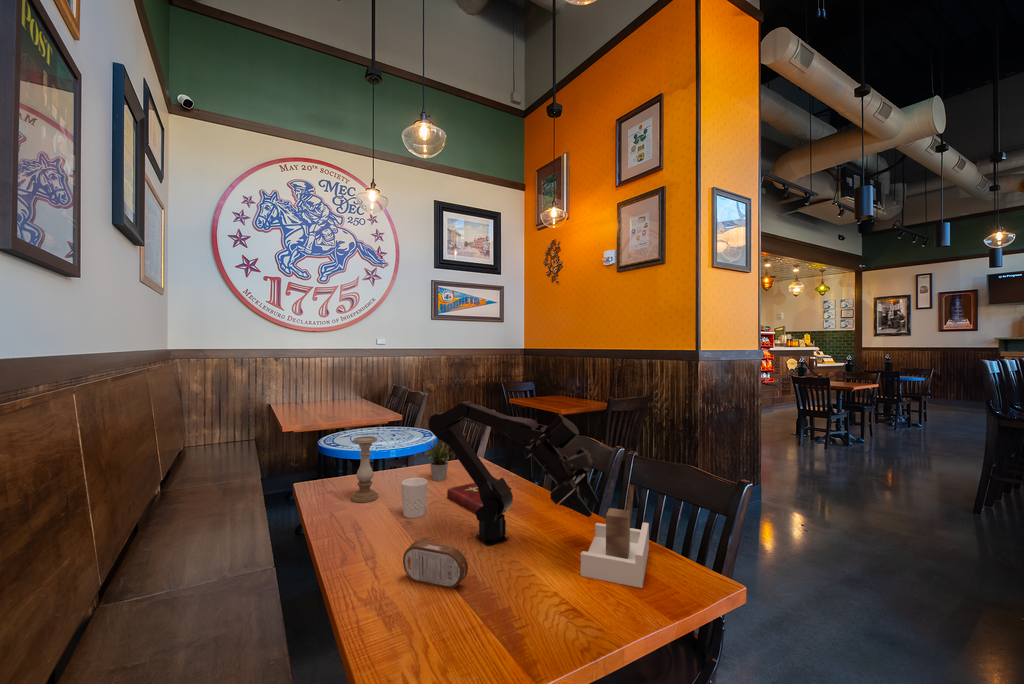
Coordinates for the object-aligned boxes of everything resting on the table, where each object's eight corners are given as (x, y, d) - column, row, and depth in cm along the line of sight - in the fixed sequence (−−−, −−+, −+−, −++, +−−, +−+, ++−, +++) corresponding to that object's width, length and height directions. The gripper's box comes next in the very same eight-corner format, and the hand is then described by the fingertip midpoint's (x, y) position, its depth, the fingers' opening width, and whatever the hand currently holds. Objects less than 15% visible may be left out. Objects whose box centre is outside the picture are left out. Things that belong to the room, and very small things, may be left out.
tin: (468, 586, 96) (468, 547, 96) (462, 593, 93) (462, 553, 93) (408, 573, 101) (408, 536, 101) (400, 580, 98) (400, 542, 98)
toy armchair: (580, 575, 100) (580, 545, 100) (595, 541, 118) (596, 515, 118) (642, 588, 95) (642, 555, 95) (648, 550, 113) (648, 523, 113)
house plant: (411, 483, 166) (411, 440, 166) (424, 473, 179) (424, 432, 179) (447, 486, 163) (448, 441, 163) (458, 475, 177) (458, 434, 177)
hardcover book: (481, 519, 133) (481, 505, 133) (447, 499, 150) (447, 487, 150) (512, 510, 141) (512, 497, 141) (476, 493, 157) (476, 481, 157)
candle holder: (383, 497, 151) (384, 437, 151) (362, 504, 143) (363, 442, 143) (366, 492, 155) (367, 434, 156) (345, 499, 148) (346, 439, 148)
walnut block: (605, 557, 105) (606, 515, 105) (608, 548, 110) (609, 507, 110) (627, 560, 103) (627, 518, 103) (629, 551, 108) (629, 510, 108)
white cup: (395, 516, 134) (396, 483, 134) (410, 507, 141) (411, 476, 141) (417, 520, 131) (418, 486, 131) (432, 511, 138) (432, 479, 138)
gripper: (563, 447, 102) (612, 501, 98) (581, 433, 120) (622, 478, 116) (531, 477, 105) (577, 531, 101) (553, 459, 122) (592, 504, 118)
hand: (594, 509), depth 109 cm, fingers open, 9 cm apart
